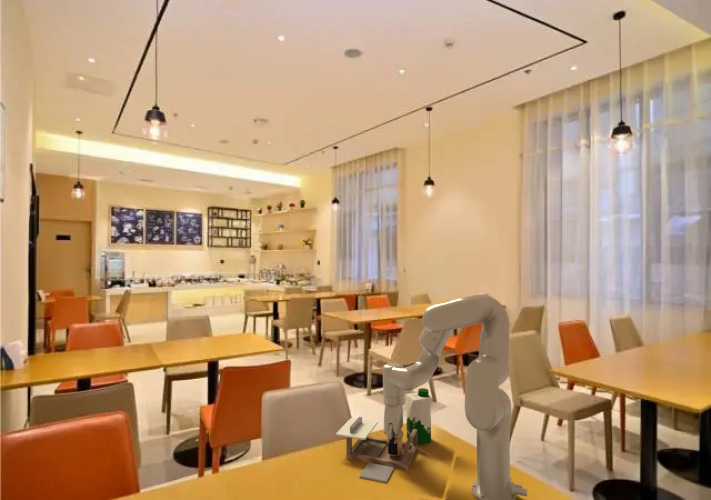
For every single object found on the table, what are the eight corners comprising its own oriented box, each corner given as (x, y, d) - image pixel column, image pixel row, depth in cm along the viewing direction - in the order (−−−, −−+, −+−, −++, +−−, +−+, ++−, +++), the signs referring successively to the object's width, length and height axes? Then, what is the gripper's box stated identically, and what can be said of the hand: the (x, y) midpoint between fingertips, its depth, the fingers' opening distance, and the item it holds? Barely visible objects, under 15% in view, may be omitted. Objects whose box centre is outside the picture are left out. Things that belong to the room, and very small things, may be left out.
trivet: (394, 471, 134) (394, 467, 134) (386, 486, 125) (386, 481, 125) (368, 467, 137) (368, 462, 137) (359, 480, 128) (359, 475, 129)
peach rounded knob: (405, 449, 144) (404, 430, 145) (401, 457, 139) (400, 437, 139) (389, 447, 147) (388, 428, 147) (384, 455, 141) (384, 434, 141)
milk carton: (434, 445, 152) (434, 392, 153) (413, 449, 150) (412, 395, 150) (424, 436, 161) (423, 385, 161) (403, 439, 158) (402, 388, 158)
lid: (377, 423, 153) (377, 416, 153) (364, 440, 139) (364, 432, 139) (350, 419, 157) (350, 412, 157) (335, 435, 143) (335, 428, 143)
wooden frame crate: (417, 451, 148) (417, 429, 148) (407, 472, 133) (407, 448, 133) (361, 441, 156) (361, 421, 156) (346, 461, 141) (346, 438, 141)
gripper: (390, 390, 153) (391, 439, 152) (376, 405, 137) (378, 460, 136) (409, 392, 150) (410, 441, 149) (398, 408, 134) (399, 463, 133)
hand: (395, 449), depth 143 cm, fingers closed on peach rounded knob, 5 cm apart
